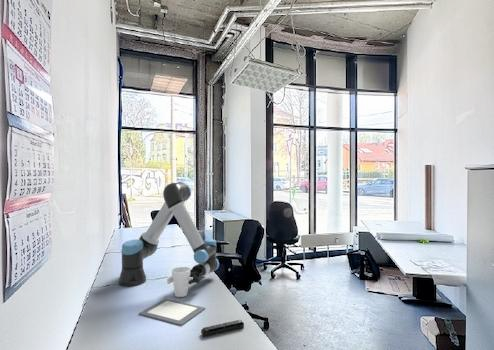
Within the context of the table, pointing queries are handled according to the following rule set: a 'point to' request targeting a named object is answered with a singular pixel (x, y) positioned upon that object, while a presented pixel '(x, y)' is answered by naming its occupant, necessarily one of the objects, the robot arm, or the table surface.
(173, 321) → the picture frame
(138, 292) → the table surface
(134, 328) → the table surface
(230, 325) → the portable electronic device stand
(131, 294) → the table surface
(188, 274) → the foam cup
